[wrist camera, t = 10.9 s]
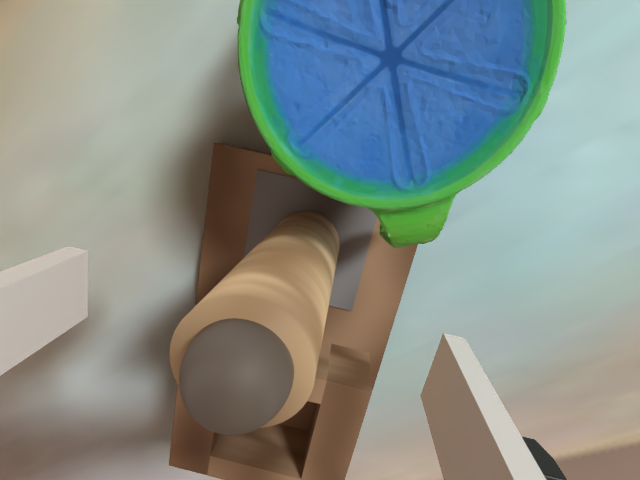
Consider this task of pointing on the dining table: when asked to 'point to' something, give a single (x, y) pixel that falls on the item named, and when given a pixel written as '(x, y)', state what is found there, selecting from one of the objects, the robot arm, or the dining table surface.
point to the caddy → (339, 333)
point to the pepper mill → (259, 331)
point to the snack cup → (397, 95)
